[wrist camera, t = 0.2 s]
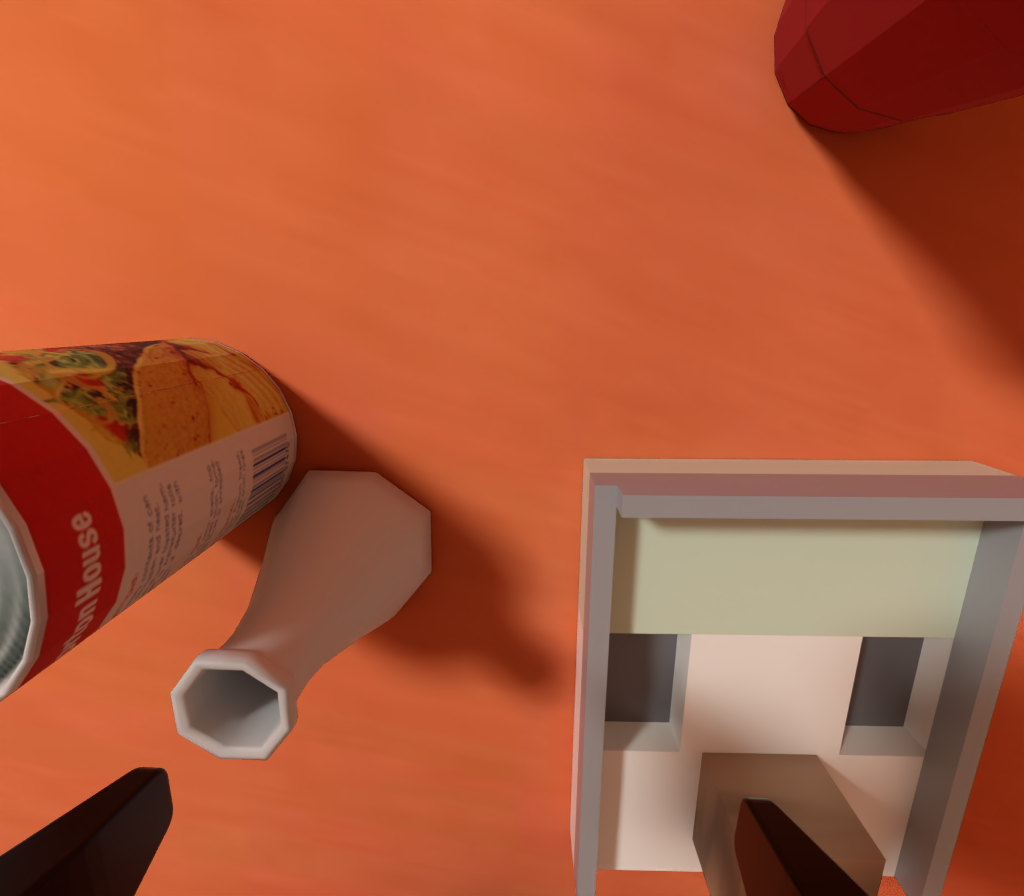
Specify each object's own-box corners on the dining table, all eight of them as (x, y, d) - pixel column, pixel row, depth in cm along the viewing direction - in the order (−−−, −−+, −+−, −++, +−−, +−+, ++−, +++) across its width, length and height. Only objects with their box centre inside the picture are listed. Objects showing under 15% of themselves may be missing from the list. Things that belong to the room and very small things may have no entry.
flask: (457, 497, 22) (405, 641, 12) (409, 634, 24) (331, 852, 14) (295, 442, 22) (110, 546, 12) (259, 585, 23) (72, 777, 14)
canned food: (116, 317, 20) (-421, 320, 9) (309, 364, 21) (37, 428, 9) (108, 496, 22) (-338, 691, 11) (285, 537, 23) (36, 770, 11)
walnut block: (799, 841, 24) (861, 959, 19) (692, 839, 24) (729, 955, 20) (816, 754, 23) (886, 859, 18) (702, 752, 23) (744, 856, 18)
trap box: (882, 835, 26) (954, 939, 22) (570, 828, 26) (579, 929, 22) (971, 460, 21) (1088, 498, 17) (583, 458, 21) (599, 495, 17)
